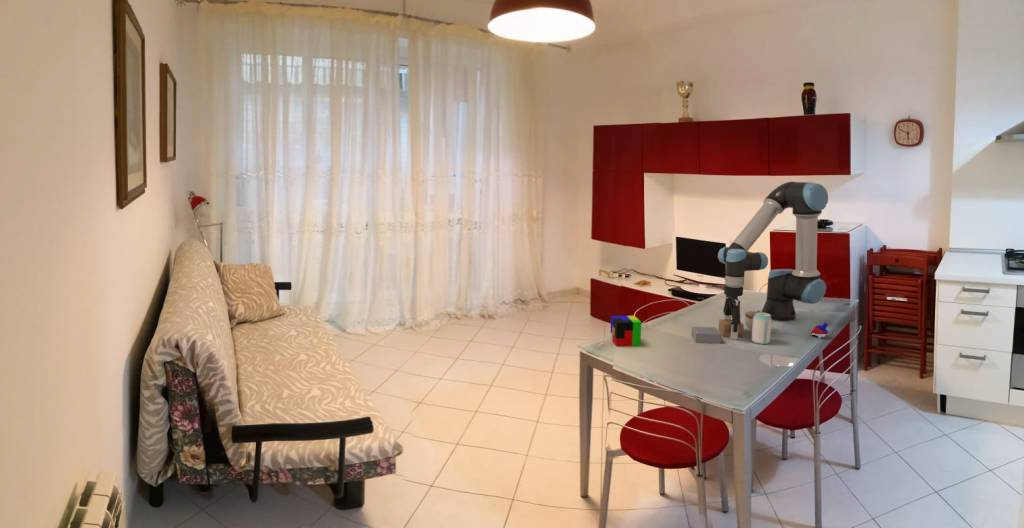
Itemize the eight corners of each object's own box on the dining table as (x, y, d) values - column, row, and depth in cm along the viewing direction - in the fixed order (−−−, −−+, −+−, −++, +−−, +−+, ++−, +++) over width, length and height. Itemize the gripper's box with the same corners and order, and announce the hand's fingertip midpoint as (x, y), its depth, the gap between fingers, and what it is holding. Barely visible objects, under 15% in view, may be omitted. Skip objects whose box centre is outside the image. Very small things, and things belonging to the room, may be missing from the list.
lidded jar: (769, 329, 278) (771, 308, 276) (770, 336, 268) (772, 314, 266) (743, 327, 281) (745, 306, 279) (744, 333, 271) (745, 312, 269)
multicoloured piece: (817, 341, 265) (826, 327, 261) (809, 335, 268) (818, 321, 264) (822, 340, 267) (831, 326, 263) (814, 333, 270) (824, 320, 265)
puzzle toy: (610, 339, 262) (611, 316, 260) (633, 338, 263) (634, 315, 261) (616, 346, 252) (617, 322, 250) (640, 346, 253) (641, 322, 251)
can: (748, 339, 262) (750, 312, 260) (764, 339, 263) (766, 311, 260) (756, 345, 255) (758, 316, 253) (772, 344, 256) (775, 316, 254)
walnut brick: (736, 332, 272) (737, 319, 271) (742, 338, 265) (743, 324, 263) (718, 332, 273) (719, 319, 272) (723, 337, 265) (724, 324, 264)
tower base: (715, 336, 266) (715, 327, 266) (720, 343, 257) (721, 334, 256) (691, 335, 267) (691, 326, 267) (695, 342, 258) (696, 333, 257)
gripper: (718, 279, 277) (715, 326, 281) (731, 291, 253) (728, 342, 257) (735, 280, 276) (732, 327, 280) (751, 292, 252) (746, 343, 256)
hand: (730, 334), depth 269 cm, fingers open, 12 cm apart
